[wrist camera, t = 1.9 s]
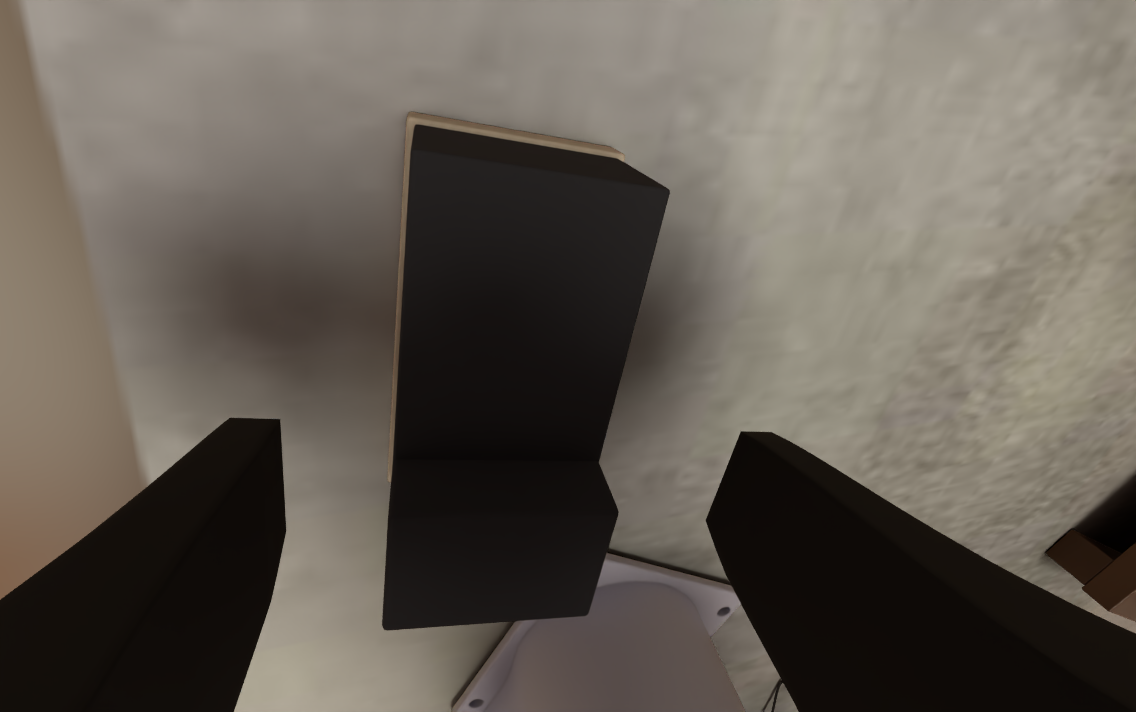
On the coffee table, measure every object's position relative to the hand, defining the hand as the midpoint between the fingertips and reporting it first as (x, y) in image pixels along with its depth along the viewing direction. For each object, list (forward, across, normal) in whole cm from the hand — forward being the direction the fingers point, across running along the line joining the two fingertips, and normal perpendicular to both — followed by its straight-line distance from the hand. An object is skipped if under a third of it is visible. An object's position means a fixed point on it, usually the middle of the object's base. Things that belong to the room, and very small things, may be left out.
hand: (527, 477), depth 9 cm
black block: (+6, 0, 0) cm, 6 cm away
